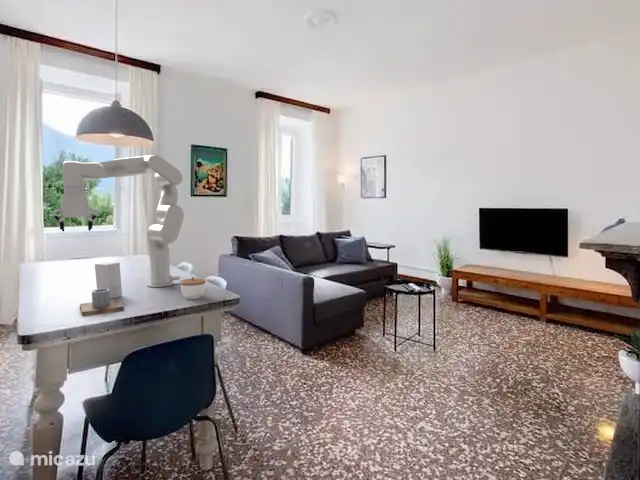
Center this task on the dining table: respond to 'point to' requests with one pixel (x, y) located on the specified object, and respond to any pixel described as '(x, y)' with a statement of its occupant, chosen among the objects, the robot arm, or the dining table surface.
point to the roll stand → (101, 308)
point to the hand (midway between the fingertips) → (76, 230)
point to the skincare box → (109, 278)
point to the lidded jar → (193, 288)
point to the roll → (100, 297)
